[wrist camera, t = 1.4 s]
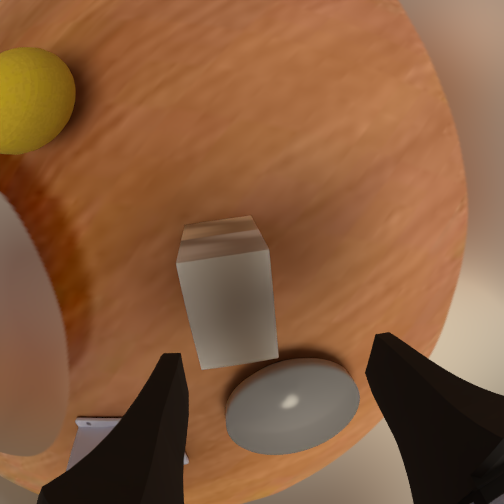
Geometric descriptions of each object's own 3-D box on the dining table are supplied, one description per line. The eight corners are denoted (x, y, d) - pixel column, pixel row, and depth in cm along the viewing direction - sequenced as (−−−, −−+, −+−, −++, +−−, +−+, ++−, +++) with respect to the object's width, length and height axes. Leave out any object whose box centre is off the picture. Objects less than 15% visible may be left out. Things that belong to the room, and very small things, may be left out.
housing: (201, 310, 21) (201, 369, 15) (184, 224, 19) (175, 263, 13) (260, 301, 21) (278, 357, 16) (250, 214, 19) (269, 249, 14)
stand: (234, 442, 27) (236, 462, 24) (213, 361, 23) (214, 384, 20) (344, 419, 28) (352, 437, 25) (354, 335, 24) (366, 354, 21)
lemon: (8, 125, 15) (-74, 133, 7) (50, 49, 13) (-23, 19, 6) (65, 164, 16) (-12, 188, 9) (112, 84, 15) (51, 56, 8)
